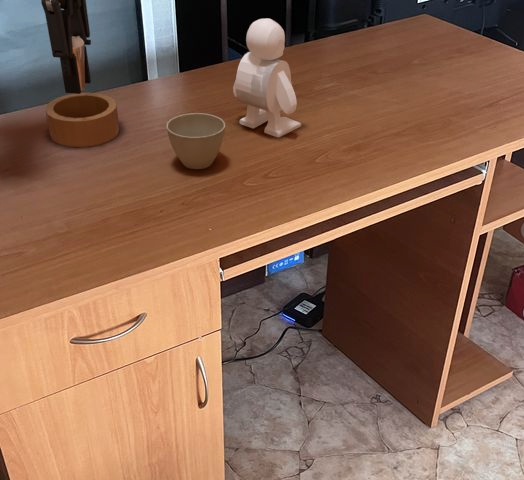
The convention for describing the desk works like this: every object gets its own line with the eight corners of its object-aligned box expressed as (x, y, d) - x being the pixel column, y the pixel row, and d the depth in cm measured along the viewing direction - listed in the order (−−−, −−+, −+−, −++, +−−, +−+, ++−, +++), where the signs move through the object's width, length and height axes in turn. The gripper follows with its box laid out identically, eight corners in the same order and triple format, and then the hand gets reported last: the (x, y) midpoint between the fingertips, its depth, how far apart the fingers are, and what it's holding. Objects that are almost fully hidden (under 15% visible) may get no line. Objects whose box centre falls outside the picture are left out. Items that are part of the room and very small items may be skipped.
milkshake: (96, 86, 144) (90, 28, 138) (79, 94, 140) (72, 36, 134) (76, 82, 145) (69, 25, 139) (58, 90, 141) (50, 32, 135)
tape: (39, 143, 144) (34, 117, 141) (65, 115, 154) (61, 90, 150) (105, 150, 142) (102, 123, 139) (128, 120, 152) (125, 95, 149)
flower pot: (225, 176, 135) (224, 137, 130) (167, 176, 135) (164, 137, 130) (226, 150, 142) (225, 112, 138) (171, 150, 142) (168, 112, 138)
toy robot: (309, 128, 149) (313, 20, 136) (280, 145, 144) (282, 33, 131) (252, 109, 156) (252, 4, 143) (223, 124, 151) (219, 16, 138)
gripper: (58, -39, 120) (80, 108, 135) (97, -66, 133) (114, 71, 148) (12, -42, 121) (39, 104, 136) (55, -68, 134) (76, 68, 149)
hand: (78, 87), depth 142 cm, fingers closed on milkshake, 4 cm apart
